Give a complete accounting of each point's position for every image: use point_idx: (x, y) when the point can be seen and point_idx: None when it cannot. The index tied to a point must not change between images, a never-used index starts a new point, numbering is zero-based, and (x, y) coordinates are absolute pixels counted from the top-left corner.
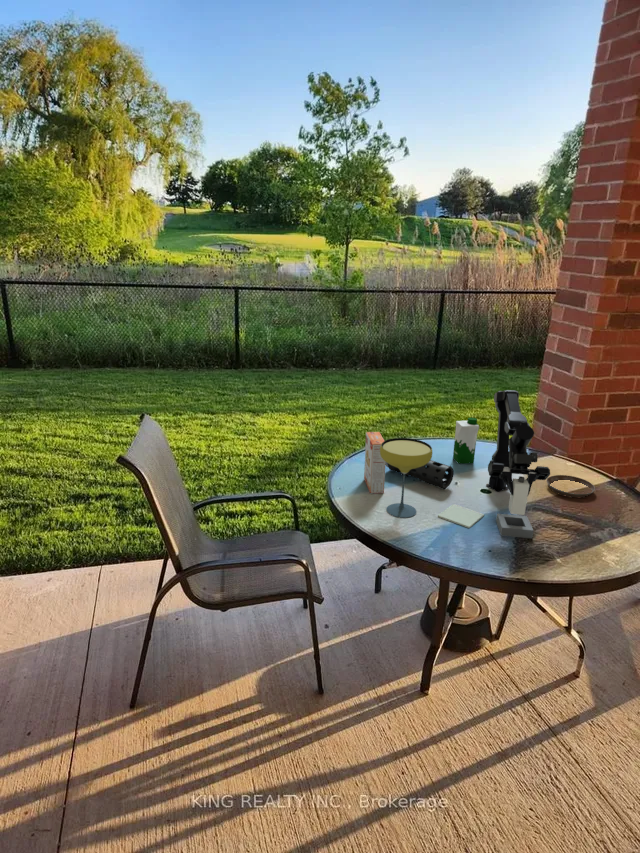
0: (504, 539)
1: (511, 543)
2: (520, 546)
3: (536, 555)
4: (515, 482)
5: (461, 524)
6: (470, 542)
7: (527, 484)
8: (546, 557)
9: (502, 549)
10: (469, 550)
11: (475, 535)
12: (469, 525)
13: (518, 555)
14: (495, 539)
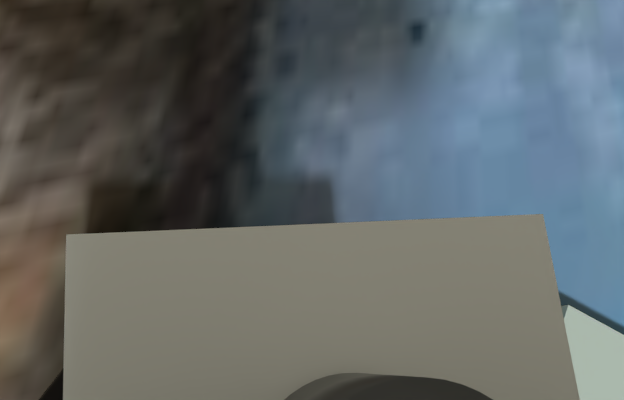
0: (314, 197)
1: (268, 149)
2: (206, 120)
3: (110, 21)
4: (543, 332)
5: (621, 337)
6: (532, 110)
7: (137, 265)
8: (39, 5)
9: (337, 60)
10: (529, 19)
11: (510, 208)
12: (571, 323)
13: (239, 5)
14: (378, 182)
